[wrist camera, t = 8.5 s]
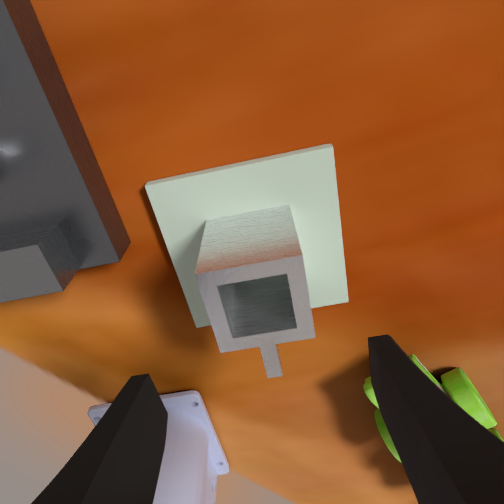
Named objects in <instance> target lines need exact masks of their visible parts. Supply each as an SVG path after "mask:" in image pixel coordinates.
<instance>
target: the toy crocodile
mask: <svg viewBox="0 0 504 504" xmlns="http://www.w3.org/2000/svg"><path fill="white" fill-rule="evenodd" d="M408 357H409V358H410V359H411V360H412V361H413V362H414V363H415V364H416V365H417V366H418V367H419V368H420V369H421V370H422V371H423V372H424V373H425V374H426V375H427V376H428V377H429V378H430V379H431V380H432V381H433V382H434V383H435V384H436V385H437V386H438V387H439V388H440V389H441V390H442V391H443V392H444V393H445V394H446V395H448V396H449V397H450V398H451V399H452V400H453V401H454V402H455V403H457V404H458V405H459V406H460V407H461V408H462V409H463V410H465V411H466V412H467V413H468V414H469V415H470V416H472V417H473V418H474V419H475V420H476V421H478V422H479V423H480V424H481V425H483V426H484V427H485V428H486V429H489V428H492V427H494V426H496V425H497V422H496V420H495V418H494V417H493V415H492V413H491V412H490V410H489V408H488V407H487V405H486V404H485V402H484V400H483V399H482V397H481V396H480V394H479V393H478V391H477V390H476V388H475V387H474V385H473V384H472V382H471V381H470V380H469V378H468V377H467V375H466V374H465V373H464V371H463V370H462V369H461V368H455V369H453V370H451V371H449V372H447V373H445V374H443V375H441V380H442V384H440V383H438V381H437V380H436V379H435V378H434V377H433V376H432V375H431V374H430V372H429V371H428V370H427V369H426V368H425V367H424V366H423V364H422V363H421V362H420V361H419V360H418V359H417V357H416V356H415V355H414V354H411V355H409V356H408ZM363 389H364V392H365V394H366V396H367V397H368V399H369V400H370V401H371V402H372V403H373V404H374V405H375V406H376V407H377V409H376V410H375V412H374V418H375V421H376V425H377V428H378V430H379V433H380V435H381V437H382V439H383V441H384V442H385V444H386V446H387V447H388V449H389V450H390V452H391V453H392V455H393V456H394V457H395V458H396V459H397V460H398V461H399V462H401V460H400V457H399V455H398V453H397V450H396V448H395V446H394V444H393V441H392V439H391V437H390V434H389V432H388V430H387V427H386V425H385V422H384V420H383V418H382V415H381V413H380V409H379V406H378V403H377V400H376V397H375V393H374V390H373V387H372V384H371V376H370V377H368V378H366V379H365V383H364V384H363ZM489 431H490V432H492V433H493V434H494V435H495V436H497V437H498V438H499V439H501V440H502V441H503V439H502V438H501V436H500V434H499V433H498V431H497V430H496V429H495V428H492V429H489ZM503 442H504V441H503ZM401 463H402V462H401Z"/></svg>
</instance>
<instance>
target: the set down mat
mask: <svg viewBox="0 0 504 504" xmlns="http://www.w3.org/2000/svg"><path fill="white" fill-rule="evenodd" d="M145 189H146V191H147V194H148V197H149V200H150V202H151V205H152V208H153V210H154V213H155V216H156V219H157V221H158V224H159V227H160V230H161V232H162V235H163V238H164V240H165V243H166V246H167V249H168V251H169V254H170V257H171V260H172V262H173V265H174V268H175V270H176V273H177V276H178V279H179V281H180V284H181V287H182V290H183V292H184V295H185V298H186V300H187V303H188V306H189V309H190V311H191V314H192V317H193V320H194V322H195V325H196V328H199V327H205V326H211V323H210V320H209V316H208V313H207V310H206V307H205V304H204V301H203V298H202V295H201V292H200V289H199V286H198V283H197V280H196V277H195V270H196V266H197V261H198V256H199V252H200V247H201V243H202V238H203V233H204V229H205V224H206V220H209V219H214V218H219V217H224V216H230V215H235V214H240V213H245V212H250V211H256V210H261V209H266V208H271V207H277V206H282V205H287V204H289V205H290V209H291V212H292V216H293V220H294V224H295V228H296V231H297V235H298V239H299V243H300V247H301V251H302V254H303V260H304V267H305V273H306V280H307V286H308V293H309V299H310V305H311V308H315V307H321V306H327V305H333V304H339V303H345V302H349V301H348V291H347V281H346V271H345V261H344V251H343V241H342V231H341V221H340V211H339V201H338V191H337V181H336V171H335V161H334V151H333V146H332V145H331V143H330V144H325V145H320V146H315V147H311V148H306V149H301V150H296V151H292V152H287V153H282V154H277V155H273V156H268V157H263V158H258V159H254V160H249V161H244V162H239V163H235V164H230V165H225V166H220V167H215V168H211V169H206V170H201V171H196V172H192V173H187V174H182V175H177V176H173V177H168V178H163V179H158V180H154V181H149V182H147V183H146V185H145Z"/></svg>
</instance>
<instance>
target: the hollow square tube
mask: <svg viewBox="0 0 504 504" xmlns="http://www.w3.org/2000/svg"><path fill="white" fill-rule="evenodd" d="M195 277H196V280H197V283H198V286H199V289H200V292H201V295H202V298H203V301H204V304H205V307H206V310H207V313H208V316H209V320H210V323H211V326H212V329H213V332H214V335H215V338H216V341H217V344H218V347H219V350H220V353H223V352H229V351H236V350H242V349H248V348H254V347H260V350H261V354H262V358H263V362H264V366H265V369H266V373H267V377H268V378H272V377H279V376H283V374H282V365H281V358H280V353H279V349H278V344H279V343H286V342H292V341H298V340H304V339H311V338H316V337H315V331H314V325H313V318H312V312H311V305H310V299H309V293H308V286H307V280H306V273H305V267H304V260H303V254H302V251H301V247H300V243H299V239H298V235H297V231H296V228H295V224H294V220H293V216H292V212H291V209H290V205H289V204H287V205H282V206H277V207H271V208H266V209H261V210H256V211H250V212H245V213H240V214H235V215H230V216H224V217H219V218H214V219H209V220H206V224H205V229H204V233H203V238H202V243H201V247H200V252H199V256H198V261H197V266H196V270H195Z"/></svg>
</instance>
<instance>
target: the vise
mask: <svg viewBox="0 0 504 504" xmlns="http://www.w3.org/2000/svg"><path fill="white" fill-rule="evenodd" d="M130 243H131V242H130V239H129V237H128V234H127V232H126V230H125V227H124V225H123V223H122V220H121V218H120V215H119V213H118V211H117V208H116V206H115V203H114V201H113V199H112V196H111V194H110V191H109V189H108V187H107V184H106V182H105V179H104V177H103V175H102V172H101V170H100V167H99V165H98V163H97V160H96V158H95V156H94V153H93V151H92V148H91V146H90V144H89V141H88V139H87V136H86V134H85V132H84V129H83V127H82V124H81V122H80V120H79V117H78V115H77V112H76V110H75V108H74V105H73V103H72V100H71V98H70V96H69V93H68V91H67V89H66V86H65V84H64V81H63V79H62V77H61V74H60V72H59V69H58V67H57V65H56V62H55V60H54V57H53V55H52V53H51V50H50V48H49V45H48V43H47V41H46V38H45V36H44V34H43V31H42V29H41V26H40V24H39V22H38V19H37V17H36V14H35V12H34V10H33V7H32V5H31V2H30V0H0V303H2V302H7V301H12V300H18V299H23V298H28V297H34V296H39V295H44V294H50V293H55V292H60V291H64V289H65V288H66V286H67V285H68V284H69V282H70V281H71V280H72V278H73V277H74V275H75V274H76V273H77V271H78V270H79V269H83V268H88V267H94V266H99V265H104V264H109V263H114V262H120V260H121V258H122V257H123V255H124V253H125V251H126V250H127V248H128V246H129V244H130Z"/></svg>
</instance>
